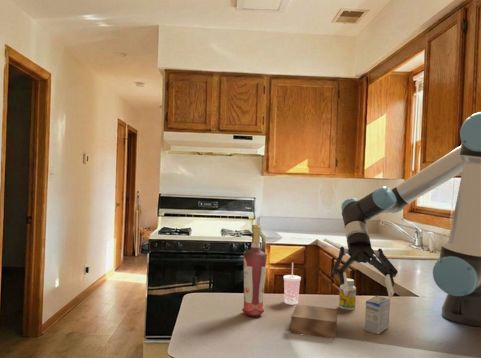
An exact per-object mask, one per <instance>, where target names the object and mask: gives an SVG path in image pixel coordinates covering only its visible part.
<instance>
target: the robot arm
mask: <svg viewBox="0 0 481 358" xmlns="http://www.w3.org/2000/svg"><path fill="white" fill-rule="evenodd" d="M459 136H460V141H461V144H460V146H457V147H456V148H455V149H453V150H452V151H450V152H448V153H447V154H445V155H444V156H442V157H440V158H439V159H437V160H436V161H433V163H431V164H429V165H427V166H426V167H425V168H423V169H421V170H420V171H418V172H417V173H415V174H414V175H412V176H411V177H409V178H407V179H406V180H404V181H402V182H401V183H399V184H398V185H396V186H394V187H393V188H392V189H391V188H389V187H388V186H385V185H384V186H380V187H379V188H377V189H374V191H372V192H371V193H369V194H367V195H366V196H364V197H362V198H361V199H359V198H354V197H352V198H347V199H346V200H344V201H343V202H342V203H341V207H340V208H341V217H342V220H343V225H344V226H343V227H344V232H345V238H346V244H347V248H345V247H344V246H340V248H339V251H338V257H337V259H336V261H335V263H334V265H333V268H332V271H331V274H332V275H337V277H338V284H339V285H340V286H341V285H343V289H344V296H347V294H348V292H349V290H348V283H347V278H348V277H347V273H346V271H347V270H348V268H350V266H351V265H352V264H354V262H356V263H364V264H367V263H368V264H369V265H371V266H372V267H374V268H375V269H376V270H378V272H380V273H381V274H382V275H383V276H384V281H385V282H384V283H385V286H386V291H387V294H388V299H391V298H392V297H393V296H394V294H395V291H394V288H393V287H394V285H395V281H394V278H396V277H397V275H398V272H399V271H398V270H397V269H396V267H395V266H394V265H393V264H392V262H391V261H390V260H389V259H388V258H387V256H386V255H385V254H384V251H383V249H382V248H381V247H380V248H377V250H376V249H375V250H374V249H373V247H372V242H371V238H370V234H369V231H368V230H369V229H368V225H367V221H369V220H371V219H372V218H375V217H376V216H378V215H380V214H387V213H388V214H389V213H392V214H395V213H398V212H401V211H402V210H403V209H404V208H405V207H406V206H408V205H409V204H411V203H412V202H414V201H416V200H417V199H419V198H421V197H423V196H424V195H426V194H428V193H429V192H431V191H432V190H435V189H436V188H437V187H440V186H441V185H442V184H445V183H446V182H448V181H450V180H452V179H453V178H455V177H457V176H458V175H460V174H461V177H460V181H459V186H458V190H457V191H458V192H457V196H456V200H455V201H456V202H455V207H454V212H453V217H452V223H451V227H450V231H449V236H448V240H447V241H446V242H443V243H442V244H441V248H440V253H439V258H438V260H437V261H436V262H435V263H434V266H433V267H432V278H433V280H434V283H435V285H436V286H437V287H438V288H439V289H440V290H441V291H442V292H444V293H446V294H447V295H446V297H445V299H444V302H443V304H442V307H441V315H442V317H443V318H445V319H446V320H449V321H452V322H453V323H454V322H455V323H458V324H462V325H466V326H468V325H469V326H474V327H481V111H479V112H476V113H473V114H472V115H470V116H469V117H467V118H466V119H465V120H464V121H463V123H462V125H461V127H460V131H459ZM346 255H348V256H349V258H348V259H347V261H345V263H343V265H342V266H341V267H340V265H341V262H342V260H343V258H344V256H346ZM339 267H340V268H339Z"/></svg>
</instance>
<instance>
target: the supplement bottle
mask: <svg viewBox="0 0 481 358" xmlns="http://www.w3.org/2000/svg"><path fill="white" fill-rule="evenodd" d="M347 283H348V290H349V292H348V294H347V296H344V289H343V285H341V284H340V286H339V300H338V301H339V303H338V305H339V306H338V307H339V308H340V309H342V310H345V311H346V310H347V311H351V310H352V311H354V310H355V309H356V303H357V301H356V300H357V299H356V297H357V288H356V286H355V280H354V278H353V279H352V278H348V277H347Z"/></svg>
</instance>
